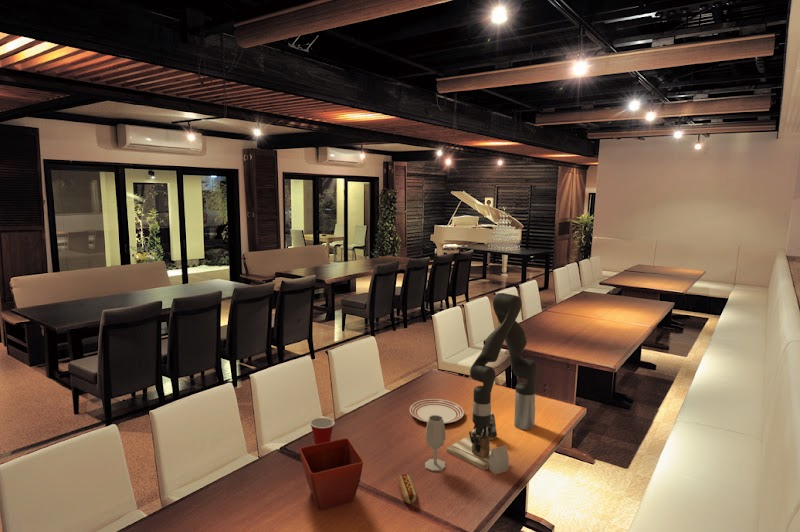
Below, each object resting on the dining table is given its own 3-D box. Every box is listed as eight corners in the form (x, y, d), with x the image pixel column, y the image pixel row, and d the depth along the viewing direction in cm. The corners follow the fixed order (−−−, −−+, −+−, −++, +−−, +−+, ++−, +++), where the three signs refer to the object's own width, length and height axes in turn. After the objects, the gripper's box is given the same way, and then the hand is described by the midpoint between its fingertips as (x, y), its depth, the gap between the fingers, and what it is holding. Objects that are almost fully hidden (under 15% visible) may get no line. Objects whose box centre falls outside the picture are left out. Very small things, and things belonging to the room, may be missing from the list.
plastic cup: (340, 446, 217) (339, 421, 215) (320, 456, 209) (320, 429, 208) (324, 438, 225) (324, 413, 223) (305, 447, 217) (304, 421, 215)
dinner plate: (472, 412, 253) (472, 406, 252) (448, 433, 230) (448, 427, 229) (426, 400, 267) (426, 394, 267) (399, 419, 244) (399, 413, 244)
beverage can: (496, 441, 222) (497, 416, 220) (480, 439, 224) (481, 415, 222) (496, 435, 228) (497, 410, 227) (480, 433, 230) (481, 409, 228)
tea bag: (508, 470, 199) (509, 447, 197) (494, 474, 196) (495, 451, 194) (502, 466, 202) (503, 443, 201) (489, 470, 199) (489, 447, 198)
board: (466, 441, 223) (466, 436, 222) (504, 457, 208) (504, 453, 208) (446, 452, 213) (446, 447, 213) (484, 470, 199) (484, 465, 198)
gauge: (474, 447, 212) (475, 430, 211) (489, 454, 206) (489, 436, 205) (469, 451, 209) (469, 433, 208) (483, 458, 204) (484, 439, 202)
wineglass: (448, 462, 204) (448, 415, 201) (442, 474, 196) (443, 424, 193) (427, 459, 207) (428, 412, 204) (421, 470, 199) (422, 421, 196)
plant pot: (311, 519, 169) (310, 473, 166) (300, 489, 186) (298, 447, 184) (364, 505, 176) (364, 461, 174) (348, 477, 194) (347, 437, 191)
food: (419, 505, 177) (419, 492, 176) (404, 507, 176) (404, 494, 175) (410, 483, 190) (410, 471, 189) (396, 484, 189) (396, 472, 188)
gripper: (484, 403, 212) (483, 440, 214) (463, 413, 202) (463, 452, 205) (499, 409, 207) (497, 447, 209) (478, 419, 197) (477, 459, 199)
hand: (480, 449), depth 207 cm, fingers closed on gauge, 4 cm apart
